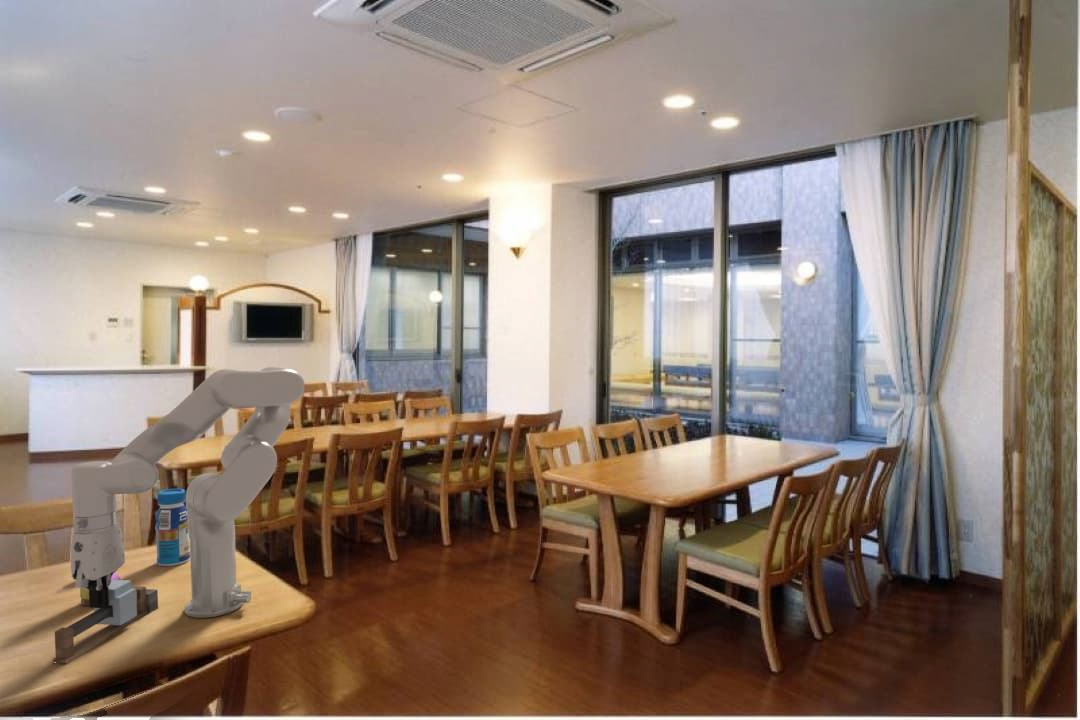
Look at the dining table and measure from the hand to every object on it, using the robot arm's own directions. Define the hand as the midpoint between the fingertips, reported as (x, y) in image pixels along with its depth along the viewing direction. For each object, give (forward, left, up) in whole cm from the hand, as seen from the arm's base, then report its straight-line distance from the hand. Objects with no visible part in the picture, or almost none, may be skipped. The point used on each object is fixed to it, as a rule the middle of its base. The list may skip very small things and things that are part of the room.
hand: (99, 606), depth 142 cm
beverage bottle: (+14, -44, -7) cm, 47 cm away
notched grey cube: (0, -5, -5) cm, 7 cm away
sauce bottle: (+15, -17, -7) cm, 24 cm away
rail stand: (0, -2, -7) cm, 7 cm away
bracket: (+23, -29, -7) cm, 38 cm away
